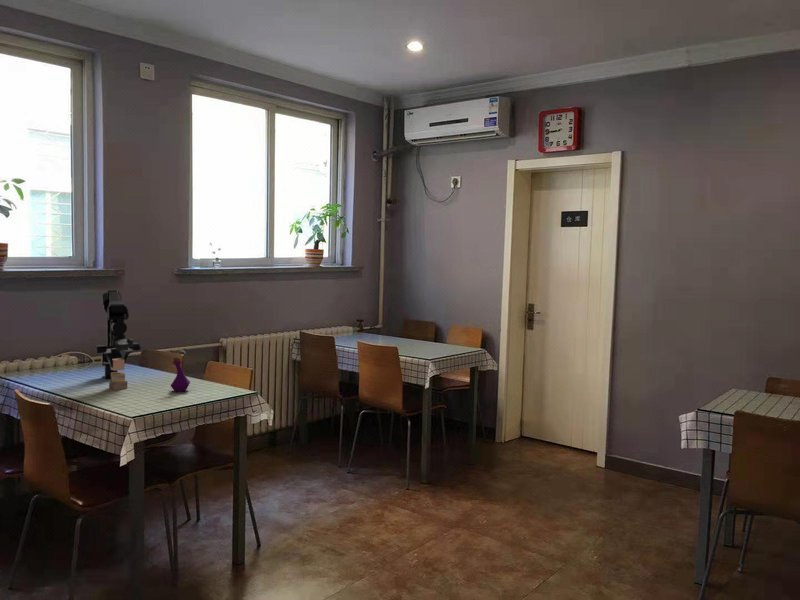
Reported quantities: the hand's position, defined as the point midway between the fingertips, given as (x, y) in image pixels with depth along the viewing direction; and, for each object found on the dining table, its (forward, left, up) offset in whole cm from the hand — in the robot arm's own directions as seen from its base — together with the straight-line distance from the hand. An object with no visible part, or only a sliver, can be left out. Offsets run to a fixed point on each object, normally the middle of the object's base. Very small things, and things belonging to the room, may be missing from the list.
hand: (117, 367), depth 299 cm
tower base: (0, 0, -10) cm, 10 cm away
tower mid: (0, 0, -6) cm, 6 cm away
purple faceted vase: (+21, +20, -10) cm, 31 cm away
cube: (0, 0, -1) cm, 1 cm away
